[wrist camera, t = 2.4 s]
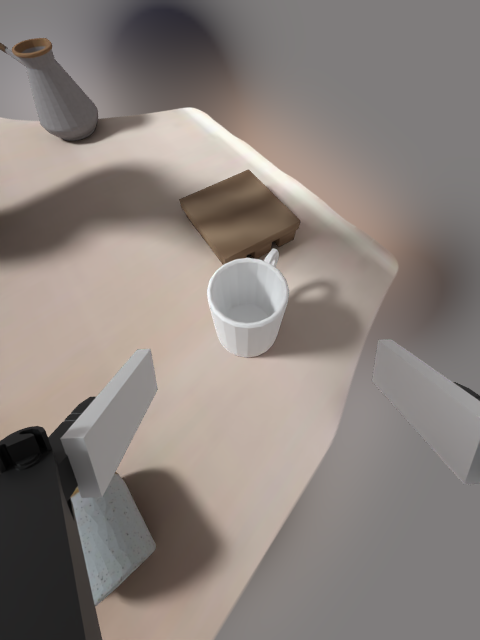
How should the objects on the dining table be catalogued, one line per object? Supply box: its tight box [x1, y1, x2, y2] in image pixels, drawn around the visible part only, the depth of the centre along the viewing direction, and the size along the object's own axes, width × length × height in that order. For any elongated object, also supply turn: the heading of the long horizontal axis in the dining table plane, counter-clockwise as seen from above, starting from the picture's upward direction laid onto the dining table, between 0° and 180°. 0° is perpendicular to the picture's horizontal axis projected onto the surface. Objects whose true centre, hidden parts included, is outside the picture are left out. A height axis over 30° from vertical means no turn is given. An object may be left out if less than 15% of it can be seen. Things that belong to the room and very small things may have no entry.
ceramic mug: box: [70, 472, 156, 606], centre depth 21 cm, size 11×8×8 cm
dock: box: [179, 170, 300, 265], centre depth 40 cm, size 14×13×4 cm
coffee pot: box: [0, 38, 98, 141], centre depth 48 cm, size 21×12×15 cm, turn 66°
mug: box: [207, 248, 289, 358], centre depth 30 cm, size 8×12×10 cm
